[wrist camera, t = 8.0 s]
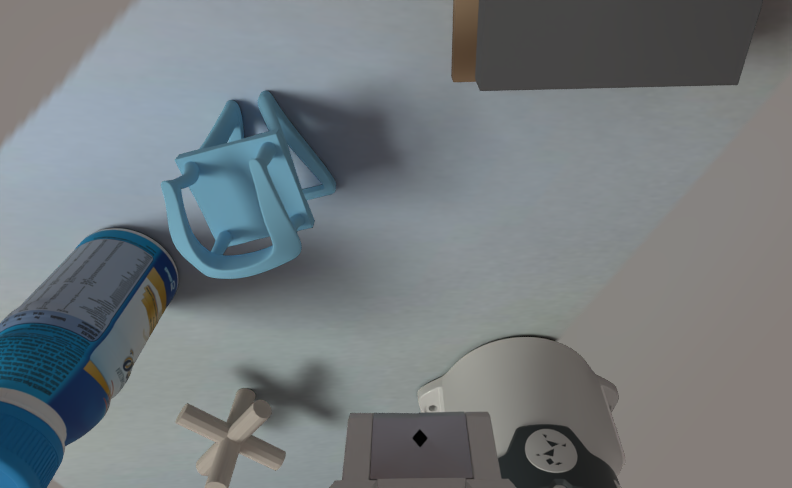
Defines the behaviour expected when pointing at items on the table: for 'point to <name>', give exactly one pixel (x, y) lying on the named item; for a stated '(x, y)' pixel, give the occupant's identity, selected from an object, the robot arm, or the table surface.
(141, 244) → the beverage bottle
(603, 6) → the collar
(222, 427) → the pipe connector
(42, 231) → the table surface
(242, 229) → the chair
